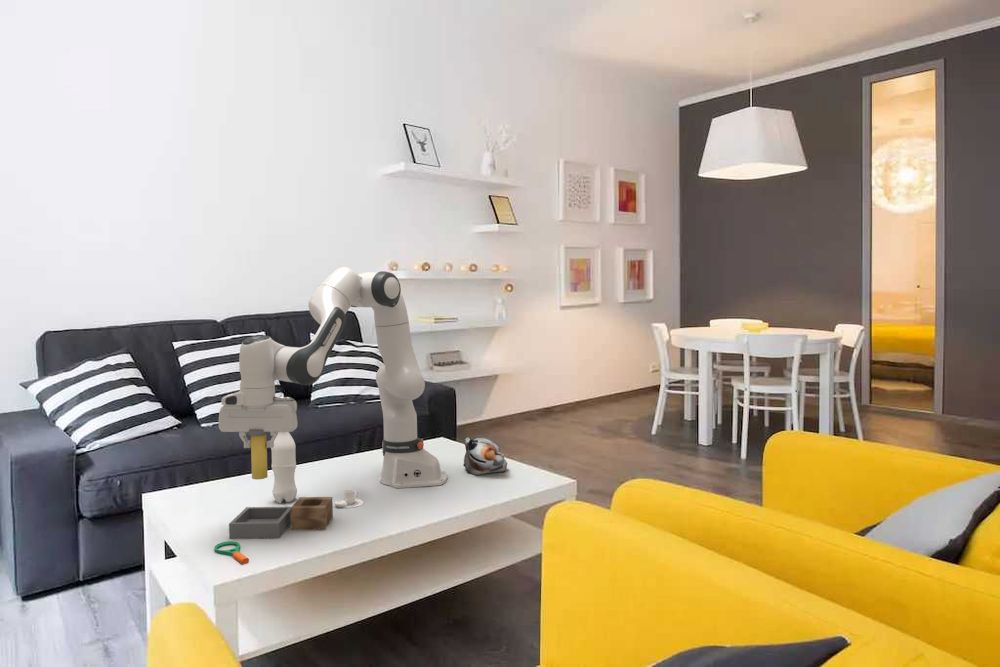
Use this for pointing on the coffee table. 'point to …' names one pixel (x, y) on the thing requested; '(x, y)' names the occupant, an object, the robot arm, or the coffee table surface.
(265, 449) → the peg
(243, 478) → the coffee table surface
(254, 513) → the tray
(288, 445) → the water bottle
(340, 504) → the teacup and saucer
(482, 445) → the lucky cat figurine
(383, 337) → the robot arm
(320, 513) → the holder
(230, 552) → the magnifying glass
